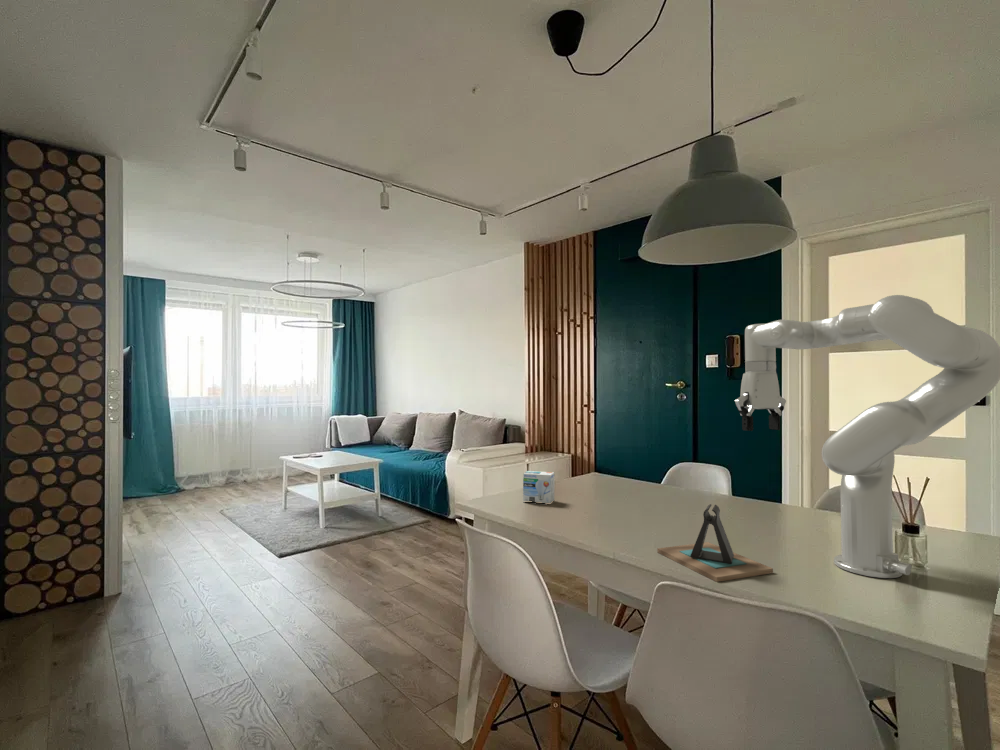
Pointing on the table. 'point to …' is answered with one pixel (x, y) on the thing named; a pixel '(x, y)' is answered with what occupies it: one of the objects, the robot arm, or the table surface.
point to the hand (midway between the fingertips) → (761, 430)
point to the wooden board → (715, 563)
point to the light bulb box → (538, 486)
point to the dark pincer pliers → (723, 542)
